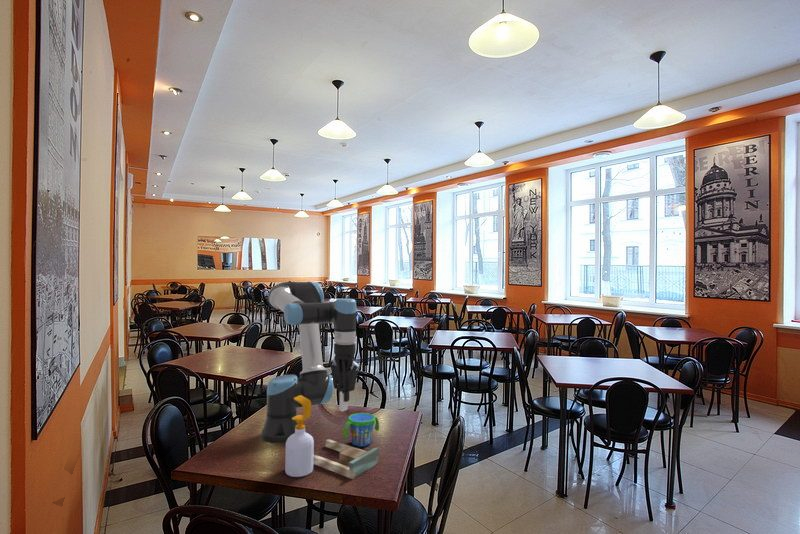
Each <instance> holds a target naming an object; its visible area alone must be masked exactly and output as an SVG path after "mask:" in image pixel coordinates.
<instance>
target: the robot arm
mask: <svg viewBox="0 0 800 534" xmlns="http://www.w3.org/2000/svg"><path fill="white" fill-rule="evenodd" d="M267 300H268V303H269V305H270V306H272V307H273V308H274V309H276V310H280V311H281V312H283V319H284V322H285V324H286V325H293V326H297V325H298V329H299V340H300V342H299V343H300V350H301V351H300V352H301V364H302V371H300V372H299V377H298V376H297V375H296V374H292V373H291V374H283V375H278V376H276V377H273V378H272V379H270V380H269V381H268V383H267V388H266V417H265V422H264V424H263V428H262V430H261V439H262V440H263V441H265V442H268V443H275V444H278V443H286V441H287V439H288V438H289V437H290V436H291V435H292V434H294V433H295V426H296V425H298V423H297V422H296V420H292V418H293V417H295V416H297V415H298V414H297V411H298V410H297V409H298V408H303V406H302V404H300V403H299V402H297V401H295V400H294V398H295V397H297V396H299V395H302V396H304V397H306V398H307V399H309V400H310V401H311V406H316V405H317V406H319V405H321V404H322V405H323V404H327V403H329V402H330V401H331V400H332V398H333V394H334V389H336V390H337V391H338V392H337V394H338V395H337V396H338V398H337V399H338V401H339V403H338V404H339V408H338V409H339V412H345V411H347V410H348V409H349V405H348V404H349V401H350V392H352V391H354V390H355V387H356V383H357V378H358V375H359V370H360V368H361V364H358V363H357V362H356V358H355V354H356V345H357V344H356V343H355V342H357V340H356V339H357V333H356V332H357V331H356V330H357V312H358V311H357V309H358V308H357V301H356V300H355V298H336V299H335V301H328V302H327V301H326V302H325V295H324V290H323V288H322V285H320V283H319V282H316V281H282V282H278V283H277V284H275V285H274V286H273V287H272V288H270V290H269V292H268V293H267ZM332 323H333V324H334V326H333V327H334V329H333V331H334V333H333V334H334V340H333V341H334V343H333V354H334V357H333V359H331V360H329V361H328V364H329V367H330V370H331V374H329V373H328V369H327V368H326V367H324V362H323V354H322V352H323V351H322V343H321V334H320V325H319V324H332Z"/></svg>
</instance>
